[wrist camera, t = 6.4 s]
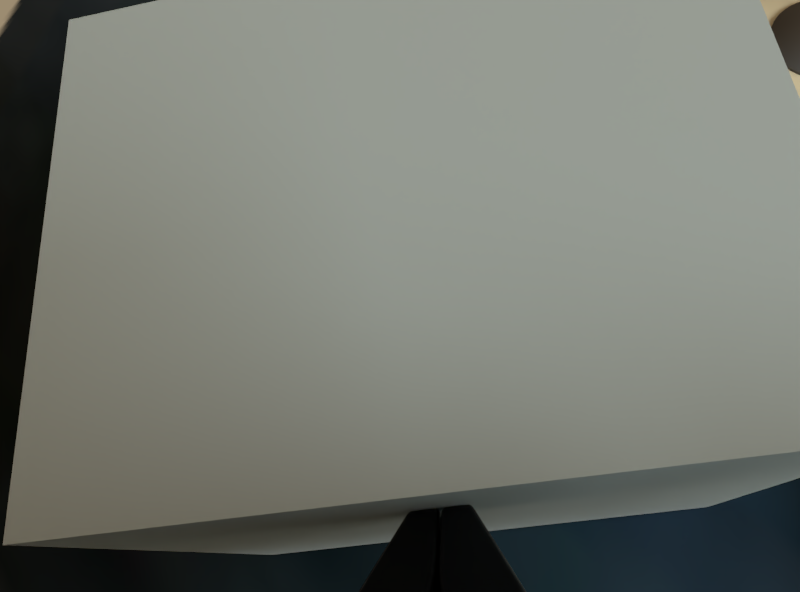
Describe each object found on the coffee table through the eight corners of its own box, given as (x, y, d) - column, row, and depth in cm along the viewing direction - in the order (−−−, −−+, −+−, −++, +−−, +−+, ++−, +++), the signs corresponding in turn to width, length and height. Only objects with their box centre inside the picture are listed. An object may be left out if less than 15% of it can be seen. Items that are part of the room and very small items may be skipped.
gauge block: (706, 507, 15) (935, 434, 7) (272, 555, 16) (2, 545, 8) (625, 195, 18) (710, -122, 10) (266, 254, 19) (69, 20, 11)
